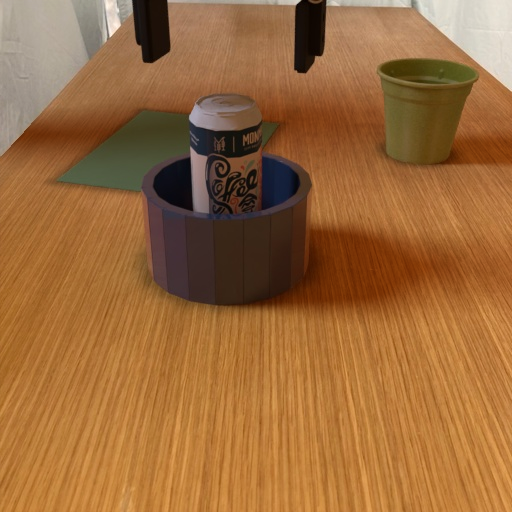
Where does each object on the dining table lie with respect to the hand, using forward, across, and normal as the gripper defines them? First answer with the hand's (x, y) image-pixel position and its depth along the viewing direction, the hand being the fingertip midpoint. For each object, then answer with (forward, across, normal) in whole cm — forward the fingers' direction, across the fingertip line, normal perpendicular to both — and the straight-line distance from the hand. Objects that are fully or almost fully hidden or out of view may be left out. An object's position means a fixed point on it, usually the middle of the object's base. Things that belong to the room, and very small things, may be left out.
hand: (229, 62), depth 43 cm
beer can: (+15, 0, 0) cm, 15 cm away
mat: (+15, -12, +19) cm, 27 cm away
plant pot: (+15, +12, +25) cm, 32 cm away
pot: (+15, 0, 0) cm, 15 cm away
